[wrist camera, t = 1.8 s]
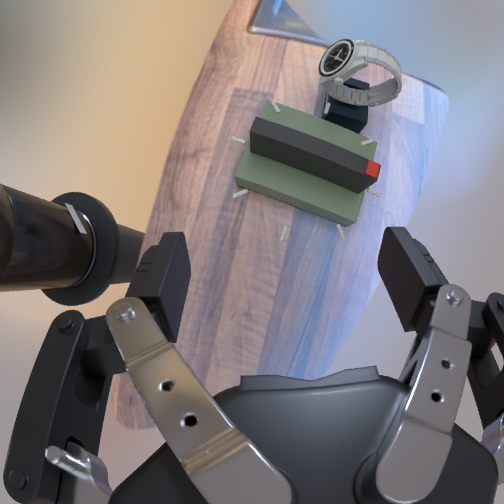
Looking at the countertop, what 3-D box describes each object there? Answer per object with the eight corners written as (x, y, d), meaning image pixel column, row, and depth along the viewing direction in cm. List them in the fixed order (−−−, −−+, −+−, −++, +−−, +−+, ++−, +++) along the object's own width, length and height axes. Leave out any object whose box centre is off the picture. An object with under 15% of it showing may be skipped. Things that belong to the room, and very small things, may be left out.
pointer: (249, 152, 27) (249, 130, 22) (255, 138, 27) (256, 114, 22) (358, 194, 27) (378, 180, 22) (363, 179, 27) (382, 163, 22)
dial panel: (206, 217, 30) (200, 211, 27) (258, 94, 30) (259, 79, 27) (347, 269, 29) (358, 269, 26) (383, 143, 30) (394, 132, 27)
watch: (310, 82, 31) (330, 20, 20) (374, 101, 31) (412, 48, 20) (303, 120, 30) (324, 60, 19) (372, 140, 30) (415, 91, 19)
